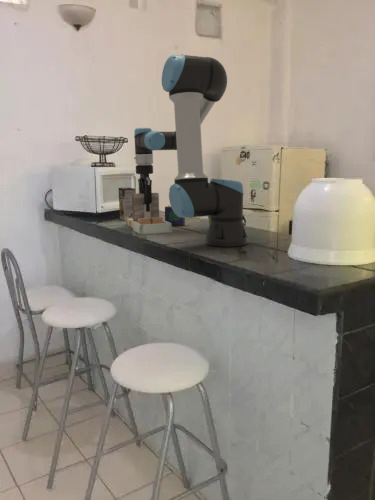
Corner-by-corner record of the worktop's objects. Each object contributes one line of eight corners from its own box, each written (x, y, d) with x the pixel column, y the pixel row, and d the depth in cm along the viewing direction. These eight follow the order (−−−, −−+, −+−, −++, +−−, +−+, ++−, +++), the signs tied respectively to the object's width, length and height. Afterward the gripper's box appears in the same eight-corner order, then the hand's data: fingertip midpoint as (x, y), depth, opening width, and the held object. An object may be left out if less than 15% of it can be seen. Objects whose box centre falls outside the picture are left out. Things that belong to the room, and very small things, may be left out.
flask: (185, 225, 214) (184, 202, 212) (184, 226, 211) (184, 202, 209) (165, 225, 214) (164, 202, 212) (164, 226, 211) (164, 203, 209)
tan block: (159, 220, 204) (158, 193, 202) (135, 222, 201) (134, 194, 198) (156, 219, 208) (155, 192, 206) (132, 220, 205) (131, 193, 202)
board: (160, 228, 204) (160, 222, 203) (136, 230, 200) (135, 223, 200) (147, 222, 222) (147, 216, 222) (125, 224, 219) (125, 218, 218)
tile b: (148, 228, 200) (150, 230, 197) (138, 229, 198) (140, 231, 196) (147, 217, 199) (149, 218, 196) (137, 218, 197) (139, 219, 194)
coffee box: (119, 219, 238) (117, 187, 235) (131, 218, 240) (130, 187, 237) (124, 221, 230) (123, 188, 226) (136, 220, 232) (135, 188, 229)
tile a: (160, 228, 202) (162, 229, 199) (151, 228, 201) (152, 230, 198) (160, 217, 201) (162, 217, 198) (150, 217, 200) (152, 218, 197)
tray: (171, 232, 194) (171, 223, 193) (140, 234, 189) (140, 225, 188) (163, 228, 205) (162, 219, 204) (133, 230, 200) (132, 221, 199)
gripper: (131, 164, 206) (133, 216, 211) (141, 165, 190) (143, 221, 195) (147, 164, 209) (148, 215, 213) (158, 164, 193) (159, 220, 197)
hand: (146, 218), depth 204 cm, fingers closed on tan block, 4 cm apart
